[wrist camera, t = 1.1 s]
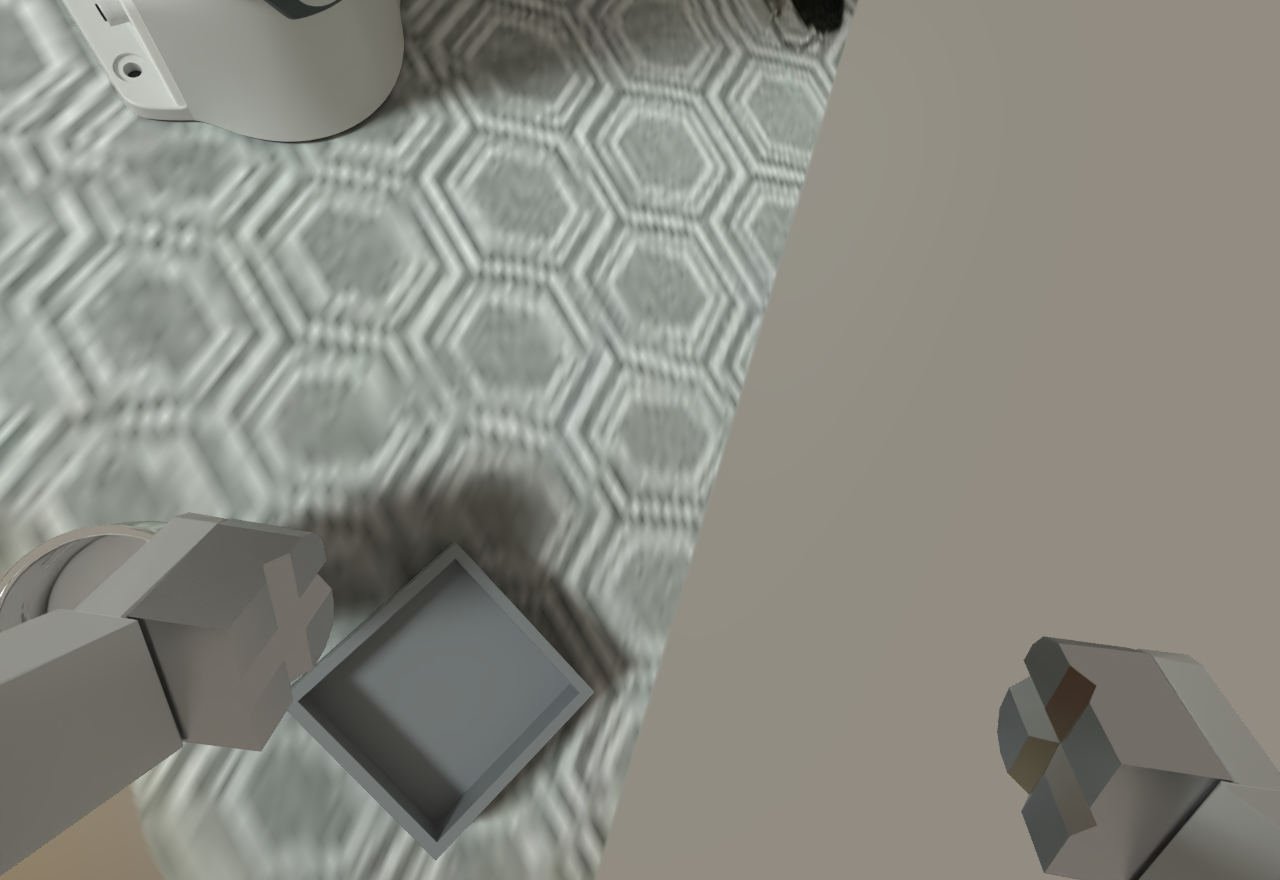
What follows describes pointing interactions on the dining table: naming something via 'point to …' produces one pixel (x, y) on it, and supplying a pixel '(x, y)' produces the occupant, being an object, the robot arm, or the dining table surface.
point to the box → (439, 699)
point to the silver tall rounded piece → (68, 569)
